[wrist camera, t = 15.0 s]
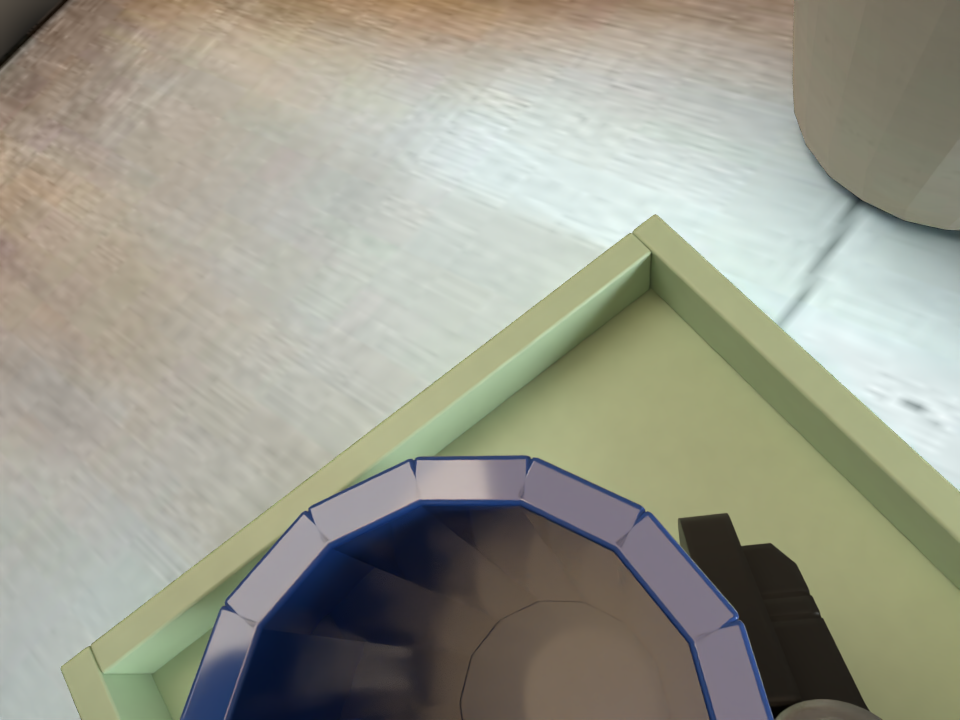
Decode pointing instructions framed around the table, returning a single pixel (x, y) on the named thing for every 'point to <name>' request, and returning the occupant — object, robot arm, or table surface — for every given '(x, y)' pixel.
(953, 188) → the potted plant
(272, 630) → the beaker
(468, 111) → the table surface
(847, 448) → the serving tray
